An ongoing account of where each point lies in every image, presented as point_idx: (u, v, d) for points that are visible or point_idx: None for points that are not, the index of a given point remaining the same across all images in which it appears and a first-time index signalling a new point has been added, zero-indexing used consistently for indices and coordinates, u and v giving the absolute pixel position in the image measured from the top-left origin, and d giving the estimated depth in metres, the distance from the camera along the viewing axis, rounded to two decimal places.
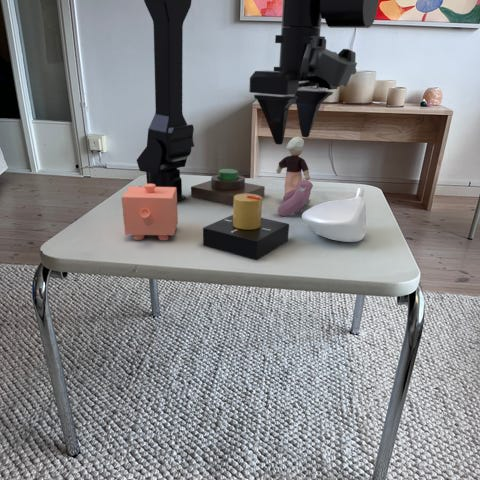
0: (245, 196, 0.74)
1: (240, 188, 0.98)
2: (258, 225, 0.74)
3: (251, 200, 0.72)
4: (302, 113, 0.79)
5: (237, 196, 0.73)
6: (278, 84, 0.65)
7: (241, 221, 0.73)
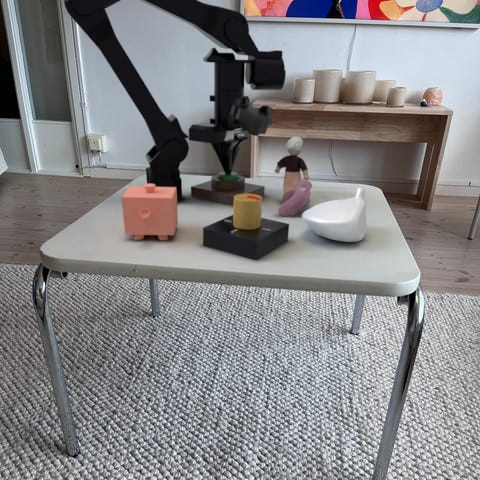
0: (245, 196, 0.74)
1: (240, 188, 0.98)
2: (258, 225, 0.74)
3: (251, 200, 0.72)
4: None
5: (237, 196, 0.73)
6: (208, 135, 0.86)
7: (241, 221, 0.73)
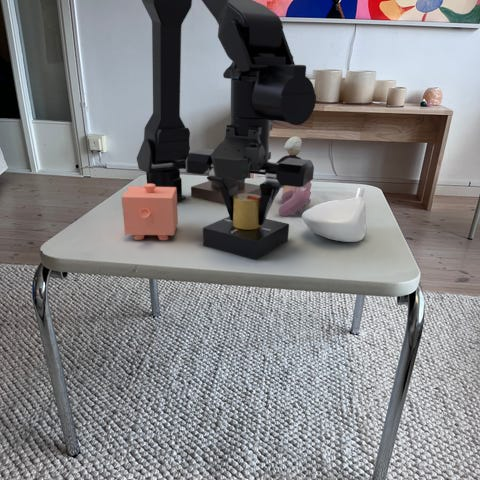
0: (245, 196, 0.74)
1: (240, 188, 0.98)
2: (258, 225, 0.74)
3: (251, 200, 0.72)
4: None
5: (237, 196, 0.73)
6: None
7: (241, 221, 0.73)
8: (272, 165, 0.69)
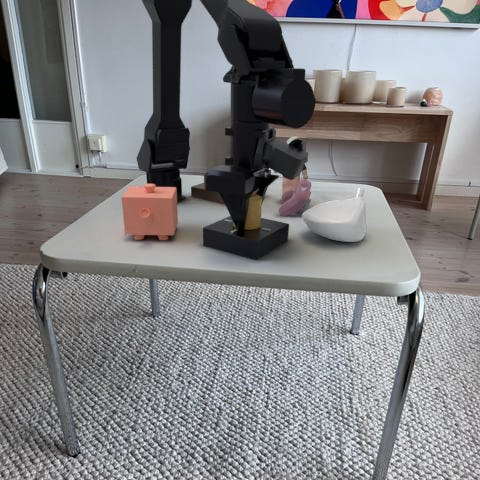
0: None
1: None
2: None
3: (258, 196, 0.74)
4: None
5: None
6: (235, 184, 0.63)
7: (259, 220, 0.74)
8: None
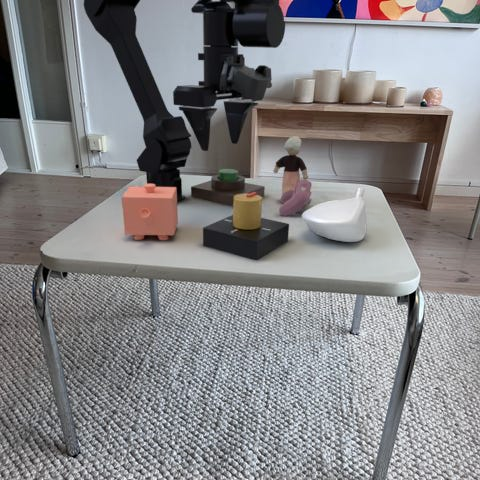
0: (245, 197, 0.73)
1: (240, 188, 0.98)
2: None
3: (258, 196, 0.74)
4: (231, 122, 0.87)
5: (248, 199, 0.72)
6: (196, 98, 0.73)
7: (259, 220, 0.74)
8: None
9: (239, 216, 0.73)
